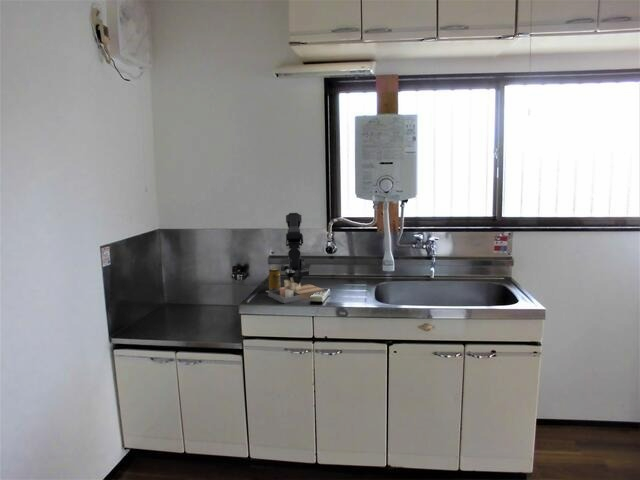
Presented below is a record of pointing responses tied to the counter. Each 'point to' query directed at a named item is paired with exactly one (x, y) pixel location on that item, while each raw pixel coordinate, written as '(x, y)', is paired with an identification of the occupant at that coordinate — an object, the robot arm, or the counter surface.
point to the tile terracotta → (282, 291)
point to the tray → (281, 299)
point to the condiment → (274, 279)
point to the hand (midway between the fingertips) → (295, 287)
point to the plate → (308, 291)
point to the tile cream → (288, 293)
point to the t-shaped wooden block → (292, 285)
